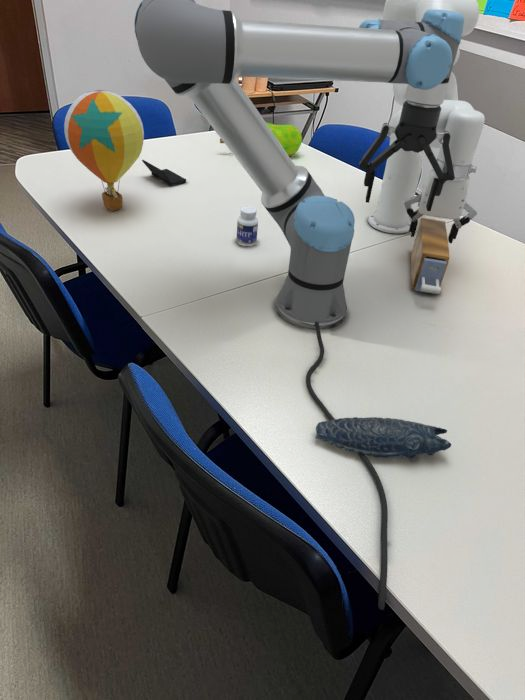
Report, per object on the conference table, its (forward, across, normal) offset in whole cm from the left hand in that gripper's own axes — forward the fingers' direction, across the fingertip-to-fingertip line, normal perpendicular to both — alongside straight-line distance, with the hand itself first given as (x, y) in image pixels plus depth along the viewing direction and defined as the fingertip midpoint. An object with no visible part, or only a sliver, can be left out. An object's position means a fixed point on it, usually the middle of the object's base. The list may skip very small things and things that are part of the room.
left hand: (397, 204), depth 116 cm
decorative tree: (+18, +43, -75) cm, 88 cm away
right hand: (+11, -11, -9) cm, 18 cm away
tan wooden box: (+18, -11, -4) cm, 21 cm away
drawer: (+17, -11, +1) cm, 20 cm away
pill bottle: (+18, +35, -6) cm, 40 cm away
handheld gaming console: (+18, +68, -40) cm, 81 cm away
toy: (+18, +74, -15) cm, 78 cm away
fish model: (+18, +1, +56) cm, 59 cm away
